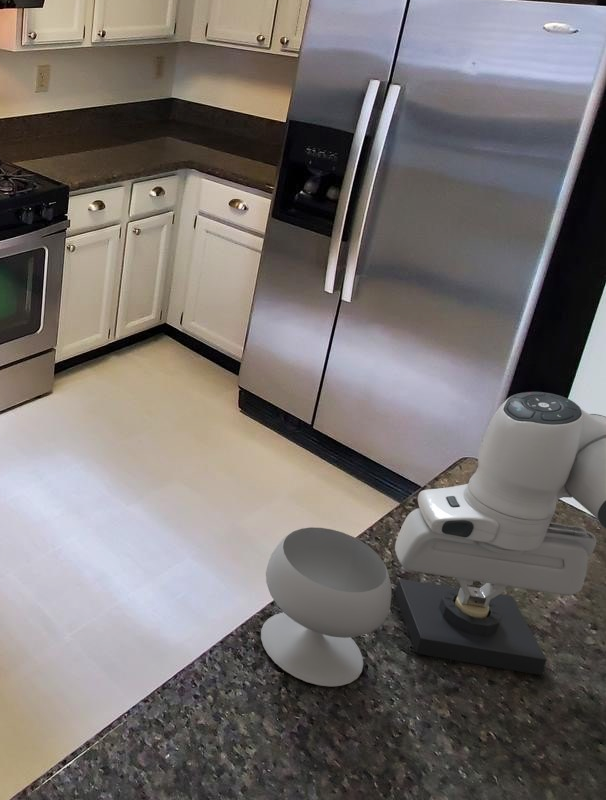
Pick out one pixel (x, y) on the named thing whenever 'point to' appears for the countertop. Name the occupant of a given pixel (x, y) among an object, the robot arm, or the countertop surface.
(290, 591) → the chalice
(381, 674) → the countertop surface
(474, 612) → the push button switch
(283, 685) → the countertop surface
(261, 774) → the countertop surface
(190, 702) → the countertop surface
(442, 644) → the push button plate
